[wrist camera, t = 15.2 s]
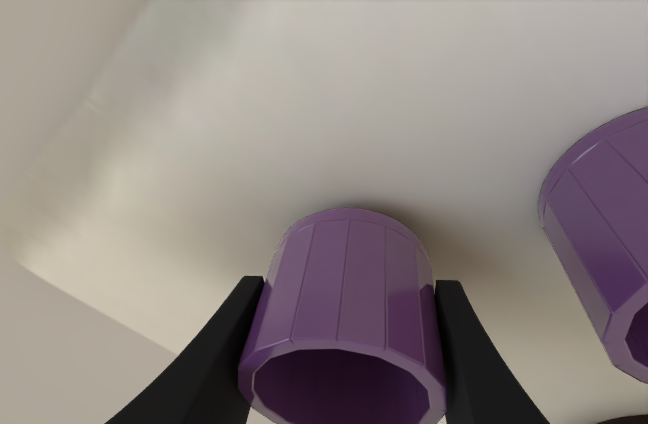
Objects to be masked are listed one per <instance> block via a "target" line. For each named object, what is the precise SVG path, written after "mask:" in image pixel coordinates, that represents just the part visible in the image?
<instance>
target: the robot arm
mask: <svg viewBox="0 0 648 424" xmlns="http://www.w3.org/2000/svg"><path fill="white" fill-rule="evenodd" d="M264 284H265V283H264V280H263V276H244V277H243V278H242V279H241V280H240V282H239V283H238V284H237V286H236V287H235V288H234V290H233V291H232V292H231V293H230V295H229V296H228V297H227V299H226V300H225V301H224V303H223V304H222V305H221V306H220V308H219V309H218V310H217V311H216V313H215V314H214V315H213V316H212V318H211V319H210V320H209V321H208V322H207V324H206V325H205V326H204V327H203V328H202V330H201V331H200V332H199V333H198V334H197V336H196V337H195V338H194V339H193V340H192V341H191V342H190V343H189V344H188V346H187V347H186V348H185V349H184V350H183V351H182V352H181V353H180V354H179V356H178V357H177V358H176V359H175V360H174V361H173V362H172V363H171V364H170V365H169V366H168V367H167V368H166V369H165V370H164V371H163V372H162V373H161V374H160V375H159V376H158V377H157V378H156V379H155V380H154V381H153V382H152V383H151V384H150V385H149V386H148V387H146V389H144V390H143V391H142V392H141V393H140V394H139V395H138V396H137V397H136V398H134V400H132V401H131V402H130V403H129V404H128V405H127V406H125V407H124V408H123V409H122V410H121V411H120V412H118V413H117V414H116V415H115V416H114V417H112V418H111V419H110V420H108V421H107V422H106V423H105V424H246V422H247V418H248V414H249V410H250V407H251V406H250V405H249V404H248V402H247V401H246V399H245V398H244V397H243V395H242V394H241V392H240V391H239V390H238V387H237V375H238V365H239V362H240V359H241V356H242V353H243V349H244V346H245V343H246V340H247V337H248V334H249V331H250V328H251V325H252V321H253V318H254V315H255V312H256V309H257V306H258V303H259V300H260V297H261V294H262V290H263V287H264ZM435 303H436V310H437V318H438V326H439V333H440V341H441V348H442V356H443V363H444V371H445V378H446V386H447V396H448V411H447V412H446V414H445V417H446V422H447V424H550V423H549V422H548V420H547V419H546V418H545V417H544V415H543V414H542V413H541V412H540V410H539V409H538V408H537V406H536V405H535V404H534V403H533V401H532V400H531V399H530V397H529V396H528V395H527V393H526V392H525V391H524V389H523V388H522V386H521V385H520V384H519V382H518V381H517V379H516V378H515V377H514V375H513V374H512V372H511V371H510V369H509V368H508V366H507V365H506V363H505V362H504V360H503V359H502V357H501V356H500V354H499V353H498V351H497V349H496V348H495V346H494V345H493V343H492V341H491V340H490V338H489V336H488V335H487V333H486V332H485V330H484V328H483V326H482V325H481V323H480V321H479V319H478V317H477V316H476V314H475V312H474V310H473V308H472V306H471V304H470V302H469V300H468V298H467V296H466V294H465V292H464V290H463V287H462V285H461V283H460V282H459V281H457V280H436V286H435Z"/></svg>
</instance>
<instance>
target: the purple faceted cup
mask: <svg viewBox="0 0 648 424" xmlns="http://www.w3.org/2000/svg"><path fill="white" fill-rule="evenodd" d="M237 387H238V390H239V391H240V392H241V394H242V395H243V397H244V398H245V399H246V401H247V402H248V404H249V405H250V406H251V407H252V408H253V409H254V410H256V411H257V412H259V413H260V414H262V415H263V416H265V417H267V418H268V419H269V420H271V421H272V422H274V423H276V424H437V423H438V422H439V421H440V420H441V418H442V417H443V416H444V415H445V414H446V412H447V411H448V396H447V386H446V378H445V371H444V363H443V356H442V348H441V341H440V333H439V326H438V318H437V310H436V303H435V295H434V288H433V280H432V273H431V266H430V261H429V256H428V253H427V251H426V248H425V247H424V245H423V243H422V242H421V240H420V239H419V238H418V237H417V236H416V235H415V233H413V232H412V231H411V230H410V229H409V228H408V227H406V226H405V225H403V224H402V223H400V222H399V221H397V220H395V219H393V218H391V217H389V216H386V215H384V214H381V213H378V212H374V211H370V210H365V209H358V208H336V209H330V210H324V211H321V212H317V213H314V214H312V215H309V216H307V217H305V218H303V219H301V220H300V221H298V222H297V223H295V224H294V225H293V226H292V227H290V228H289V230H288V231H287V232H286V233H285V234H284V236H283V237H282V239H281V240H280V243H279V245H278V248H277V251H276V253H275V254H274V256H273V259H272V263H271V266H270V269H269V272H268V275H267V278H266V281H265V284H264V287H263V290H262V294H261V297H260V300H259V303H258V306H257V309H256V312H255V315H254V318H253V321H252V325H251V328H250V331H249V334H248V337H247V340H246V343H245V346H244V349H243V353H242V356H241V359H240V362H239V365H238V375H237Z"/></svg>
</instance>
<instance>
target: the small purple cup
mask: <svg viewBox="0 0 648 424" xmlns="http://www.w3.org/2000/svg"><path fill="white" fill-rule="evenodd" d="M538 213H539V219H540V222H541V224H542V227H543V229H544V231H545V233H546V235H547V237H548V239H549V241H550V243H551V245H552V247H553V249H554V251H555V253H556V255H557V257H558V259H559V261H560V263H561V265H562V267H563V269H564V271H565V272H566V274H567V276H568V278H569V280H570V282H571V284H572V286H573V288H574V290H575V292H576V294H577V296H578V298H579V300H580V302H581V304H582V306H583V308H584V310H585V312H586V314H587V316H588V318H589V320H590V322H591V324H592V326H593V328H594V330H595V332H596V334H597V336H598V338H599V340H600V342H601V344H602V346H603V348H604V350H605V352H606V354H607V356H608V358H609V360H610V362H611V364H612V365H614V366H615V367H616V368H618V369H620V370H621V371H623V372H625V373H627V374H628V375H630V376H632V377H634V378H635V379H637V380H639V381H641V382H644V383H647V384H648V108H644V109H641V110H637V111H634V112H631V113H629V114H626V115H624V116H621V117H619V118H616V119H614V120H612V121H610V122H608V123H606V124H604V125H602V126H600V127H599V128H597V129H596V130H594V131H592V132H591V133H589V134H588V135H586V136H585V137H583V138H582V139H581V140H579V141H578V142H577V143H576V144H574V145H573V146H572V147H571V148H570V149H569V150H568V151H567V152H566V153H565V154H564V155H563V156H562V157H561V158H560V159H559V160H558V161H557V162H556V164H555V165H554V167H553V168H552V169H551V171H550V172H549V174H548V176H547V178H546V179H545V181H544V184H543V186H542V189H541V191H540V196H539V201H538Z"/></svg>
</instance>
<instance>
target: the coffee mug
mask: <svg viewBox="0 0 648 424" xmlns="http://www.w3.org/2000/svg"><path fill="white" fill-rule="evenodd" d="M599 424H648V415H647V416H633V417H625V418H619V419H614V420H609V421H606V422H602V423H599Z"/></svg>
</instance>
